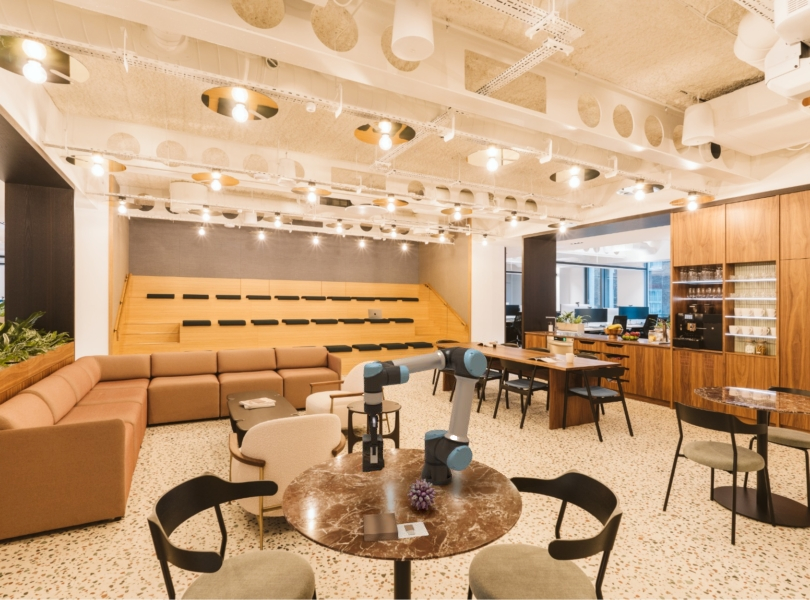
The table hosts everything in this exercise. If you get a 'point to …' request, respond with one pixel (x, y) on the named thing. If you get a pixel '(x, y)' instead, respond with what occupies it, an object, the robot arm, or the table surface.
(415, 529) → the page
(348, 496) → the table surface
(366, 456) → the stone block
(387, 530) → the base brick
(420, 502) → the flower
